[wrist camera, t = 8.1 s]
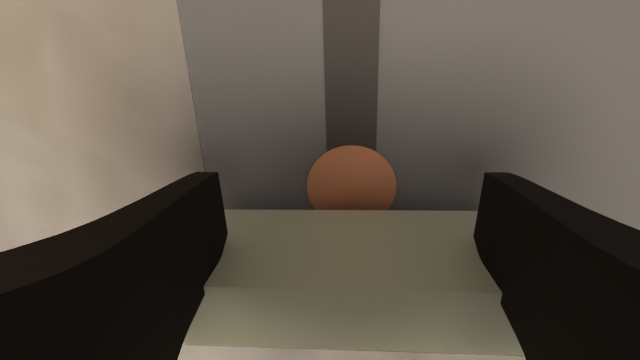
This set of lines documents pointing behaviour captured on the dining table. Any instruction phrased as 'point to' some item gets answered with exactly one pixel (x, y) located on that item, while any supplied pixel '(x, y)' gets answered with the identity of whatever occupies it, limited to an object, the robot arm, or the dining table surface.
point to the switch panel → (416, 101)
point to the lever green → (353, 284)
